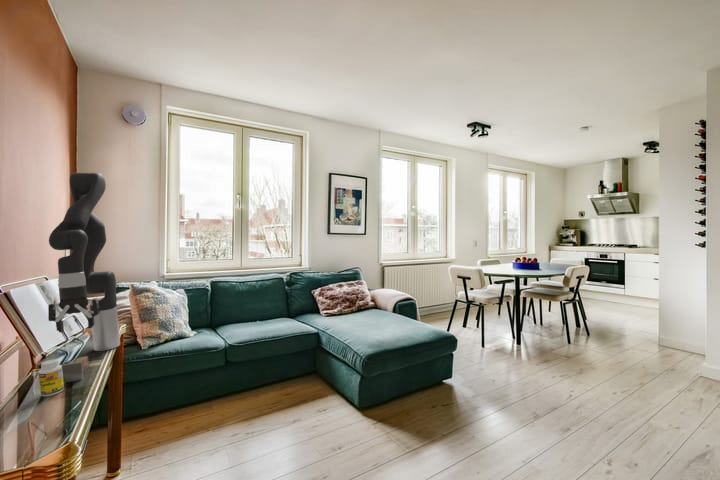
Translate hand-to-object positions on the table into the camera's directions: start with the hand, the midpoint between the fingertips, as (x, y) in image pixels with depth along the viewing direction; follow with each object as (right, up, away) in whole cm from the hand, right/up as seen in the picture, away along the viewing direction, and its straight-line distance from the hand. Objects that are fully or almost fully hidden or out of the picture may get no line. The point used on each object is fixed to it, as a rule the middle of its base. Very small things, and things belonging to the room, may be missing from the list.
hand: (76, 329), depth 122 cm
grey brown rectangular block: (+1, -16, -1) cm, 16 cm away
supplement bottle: (+5, -17, -15) cm, 22 cm away
